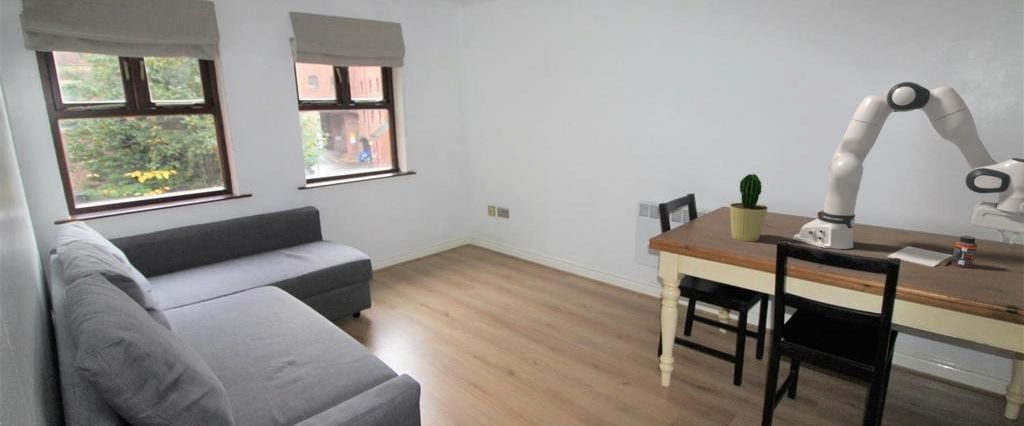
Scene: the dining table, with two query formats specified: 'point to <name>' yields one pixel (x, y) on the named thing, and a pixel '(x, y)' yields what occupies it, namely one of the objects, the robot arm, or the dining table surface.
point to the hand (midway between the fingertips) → (1006, 243)
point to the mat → (920, 256)
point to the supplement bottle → (964, 252)
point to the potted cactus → (748, 211)
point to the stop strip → (946, 261)
